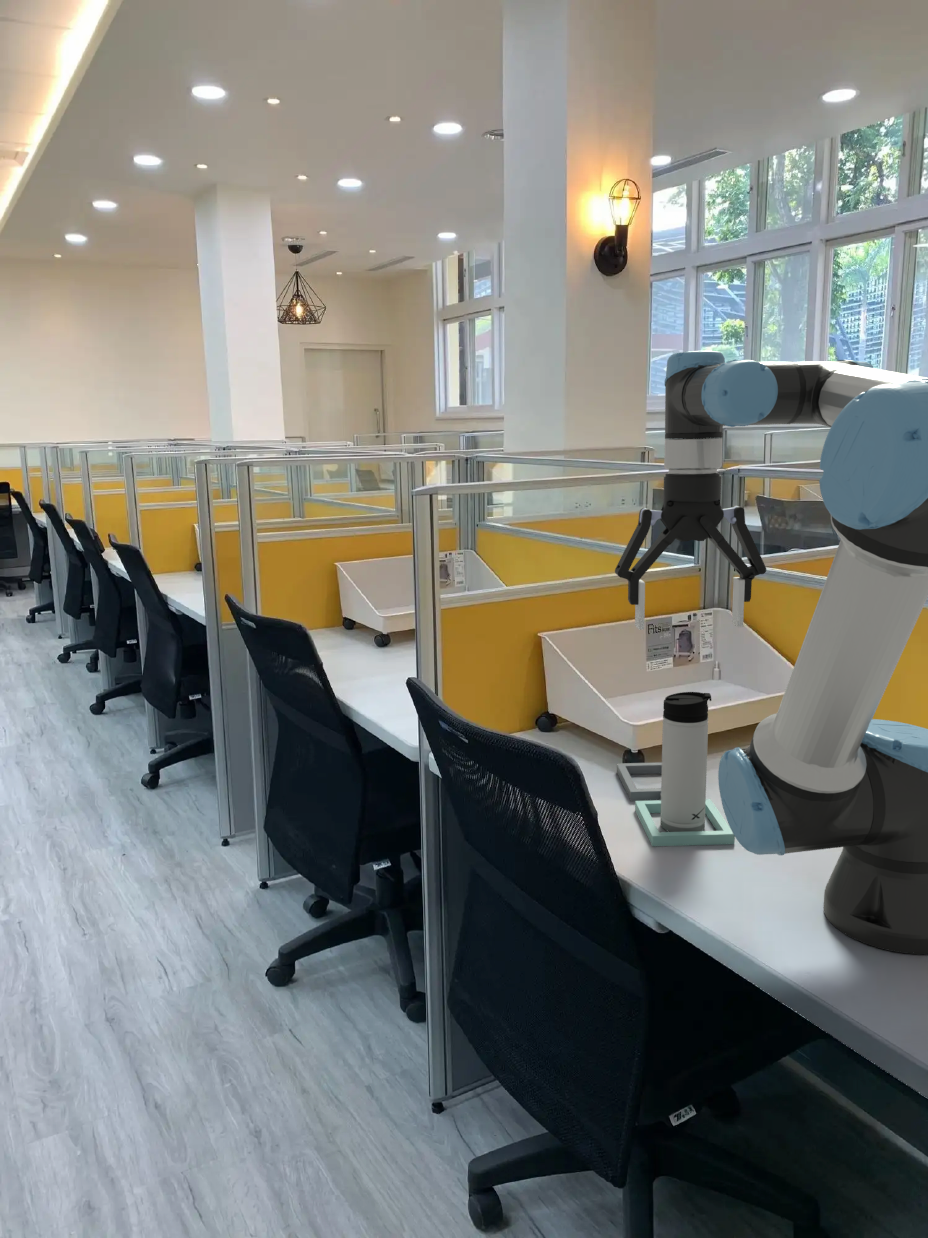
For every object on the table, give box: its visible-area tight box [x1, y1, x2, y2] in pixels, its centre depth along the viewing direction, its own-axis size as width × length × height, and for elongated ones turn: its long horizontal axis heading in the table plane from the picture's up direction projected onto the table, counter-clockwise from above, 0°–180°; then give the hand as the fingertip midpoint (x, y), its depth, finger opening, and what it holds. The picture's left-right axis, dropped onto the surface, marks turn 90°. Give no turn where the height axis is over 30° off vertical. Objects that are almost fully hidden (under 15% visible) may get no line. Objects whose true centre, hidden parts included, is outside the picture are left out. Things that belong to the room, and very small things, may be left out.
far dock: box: [616, 761, 662, 802], centre depth 148 cm, size 16×11×2 cm
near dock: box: [634, 798, 736, 847], centre depth 134 cm, size 12×11×2 cm
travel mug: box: [660, 691, 712, 832], centre depth 132 cm, size 6×7×20 cm
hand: (688, 626), depth 128 cm, fingers open, 13 cm apart
